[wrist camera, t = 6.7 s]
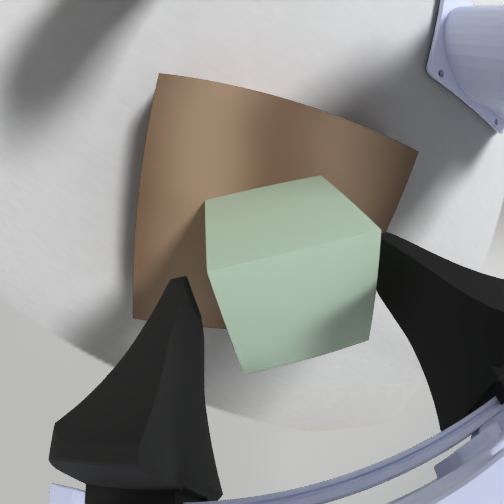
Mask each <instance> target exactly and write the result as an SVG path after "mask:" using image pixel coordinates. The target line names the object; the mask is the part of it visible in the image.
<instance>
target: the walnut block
mask: <svg viewBox="0 0 504 504" xmlns="http://www.w3.org/2000/svg"><path fill="white" fill-rule="evenodd" d="M417 154H418V151H416V150H414V149H412V148H410V147H408V146H406V145H404V144H402V143H400V142H398V141H396V140H394V139H391V138H389V137H387V136H385V135H383V134H380V133H378V132H376V131H373V130H371V129H369V128H366V127H364V126H362V125H359V124H357V123H354V122H352V121H349V120H346V119H344V118H341V117H339V116H336V115H333V114H330V113H328V112H325V111H322V110H319V109H316V108H313V107H310V106H307V105H304V104H301V103H297V102H294V101H291V100H288V99H284V98H281V97H277V96H274V95H270V94H266V93H262V92H258V91H254V90H250V89H246V88H242V87H237V86H233V85H228V84H223V83H219V82H213V81H208V80H202V79H197V78H190V77H184V76H177V75H169V74H161V73H159V76H158V80H157V85H156V89H155V94H154V99H153V103H152V108H151V113H150V119H149V124H148V130H147V136H146V142H145V148H144V155H143V162H142V169H141V177H140V185H139V194H138V204H137V216H136V228H135V244H134V266H133V318H134V319H141V320H148V319H149V317H150V315H151V314H152V312H153V310H154V308H155V307H156V305H157V303H158V301H159V299H160V297H161V296H162V294H163V292H164V290H165V288H166V286H167V285H168V283H169V281H170V280H171V279H174V278H179V277H183V276H187V278H188V281H189V284H190V286H191V289H192V292H193V295H194V297H195V300H196V303H197V306H198V308H199V311H200V314H201V317H202V325H203V327H210V328H222V329H227V327H226V325H225V322H224V319H223V316H222V314H221V311H220V308H219V305H218V302H217V300H216V297H215V294H214V291H213V288H212V285H211V282H210V279H209V276H208V273H207V260H206V228H205V200H209V199H213V198H217V197H221V196H226V195H230V194H234V193H238V192H243V191H247V190H251V189H256V188H260V187H265V186H270V185H274V184H279V183H284V182H289V181H294V180H299V179H304V178H309V177H314V176H320V175H321V176H323V177H324V178H325V179H326V180H327V181H329V182H330V183H331V184H332V185H333V186H334V187H335V188H337V189H338V190H339V191H340V192H341V193H342V194H343V195H345V196H346V197H347V198H348V199H349V200H350V201H351V202H352V203H353V204H355V205H356V206H357V207H358V208H359V209H360V210H361V211H362V212H363V213H364V214H365V215H366V216H368V217H369V218H370V219H371V220H372V221H373V222H374V223H375V224H376V225H377V226H378V227H379V228H380V229H381V233H385V232H386V230H387V228H388V226H389V223H390V221H391V219H392V217H393V214H394V212H395V210H396V208H397V205H398V203H399V200H400V198H401V196H402V193H403V191H404V188H405V186H406V183H407V181H408V178H409V176H410V173H411V171H412V168H413V165H414V163H415V160H416V157H417Z"/></svg>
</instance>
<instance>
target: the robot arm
mask: <svg viewBox="0 0 504 504" xmlns="http://www.w3.org/2000/svg"><path fill="white" fill-rule="evenodd" d="M426 69H427V72H428V74H429V75H430V76H431V77H432V78H434V79H435V80H436V81H438V82H439V83H441V84H442V85H443V86H445V87H446V88H447V89H449V90H450V91H451V92H452V93H454V94H455V95H456V96H457V97H459V98H460V99H461V100H462V101H464V102H465V103H466V104H467V105H468V106H469V107H471V108H472V109H473V110H474V111H475V112H476V113H477V114H479V115H480V116H481V117H482V118H483V119H484V120H485V121H486V122H487V123H488V124H489V125H490V126H492V127H493V128H494V129H495V130H496V131H497V132H498V133H500V134H502V133H503V132H504V5H474V4H473V3H472V2H471V1H470V0H440V6H439V12H438V17H437V22H436V27H435V32H434V37H433V41H432V46H431V50H430V54H429V58H428V62H427V68H426ZM439 72H440V76H439V74H438V73H439ZM376 290H377V292H378V294H379V296H380V297H381V299H382V300H383V302H384V303H385V305H386V306H387V308H388V309H389V311H390V312H391V314H392V315H393V317H394V318H395V320H396V321H397V323H398V324H399V326H400V327H401V329H402V330H403V332H404V333H405V335H406V336H407V338H408V340H409V342H410V343H411V345H412V347H413V349H414V351H415V354H416V356H417V358H418V360H419V362H420V365H421V367H422V369H423V372H424V374H425V377H426V379H427V382H428V385H429V388H430V391H431V394H432V397H433V400H434V404H435V408H436V411H437V416H438V419H439V425H440V429H441V431H442V432H440V433H438V434H437V435H435V436H433V437H431V438H429V439H427V440H425V441H424V442H422V443H420V444H418V445H416V446H414V447H412V448H410V449H408V450H406V451H404V452H401V453H399V454H397V455H395V456H392V457H390V458H388V459H385V460H383V461H381V462H378V463H376V464H373V465H371V466H368V467H366V468H363V469H361V470H358V471H355V472H352V473H349V474H346V475H343V476H340V477H337V478H333V479H330V480H327V481H323V482H320V483H316V484H313V485H309V486H305V487H301V488H297V489H292V490H288V491H283V492H278V493H273V494H267V495H262V496H255V497H248V498H240V499H232V500H223V501H222V500H221V501H218V499H220V497H221V496H222V495H223V493H222V489H221V485H220V481H219V477H218V473H217V469H216V464H215V459H214V454H213V450H212V445H211V439H210V433H209V427H208V421H207V413H206V406H205V395H204V334H203V325H202V317H201V314H200V311H199V308H198V306H197V303H196V300H195V297H194V295H193V292H192V289H191V286H190V284H189V281H188V278H187V276H183V277H179V278H174V279H171V280H170V281H169V283H168V285H167V286H166V288H165V290H164V292H163V294H162V296H161V297H160V299H159V301H158V303H157V305H156V307H155V308H154V310H153V312H152V314H151V315H150V317H149V319H148V321H147V322H146V324H145V326H144V327H143V329H142V330H141V332H140V333H139V335H138V337H137V338H136V340H135V341H134V343H133V344H132V346H131V347H130V348H129V350H128V351H127V352H126V354H125V355H124V356H123V358H122V359H121V360H120V362H119V363H118V364H117V365H116V366H115V368H114V369H113V370H112V371H111V372H110V373H109V374H108V375H107V377H106V378H105V379H104V380H103V381H102V382H101V383H100V384H99V385H98V386H97V388H95V389H94V391H92V393H90V394H89V395H88V396H87V397H86V398H85V399H84V400H83V401H82V402H81V403H80V404H79V405H77V406H76V407H75V408H74V409H73V410H71V411H70V412H69V413H67V414H66V415H65V416H64V417H62V418H61V419H60V420H59V421H57V422H56V423H55V425H54V430H53V436H52V441H51V447H50V454H49V461H50V463H51V464H52V465H53V466H54V467H55V468H56V469H58V470H60V471H61V472H63V473H65V474H67V475H69V476H71V477H73V478H75V479H77V480H79V481H81V482H83V483H85V484H86V491H83V490H80V489H76V488H72V487H67V486H63V485H59V484H54V483H51V484H50V492H49V504H324V503H328V502H331V501H334V500H337V499H341V498H344V497H347V496H350V495H352V494H356V493H358V492H361V491H364V490H366V489H369V488H372V487H374V486H377V485H379V484H382V483H384V482H386V481H389V480H391V479H393V478H395V477H398V476H400V475H402V474H404V473H406V472H408V471H410V470H412V469H414V468H416V467H418V466H420V465H422V464H424V463H426V462H428V461H429V460H431V459H433V458H435V457H437V456H438V455H440V454H442V453H443V452H445V451H447V450H449V449H450V448H452V447H453V446H455V445H456V444H458V443H460V442H461V441H463V440H464V439H466V438H467V437H469V436H470V435H472V436H471V440H470V441H469V442H467V443H466V444H465V445H463V446H461V447H460V448H459V449H457V450H456V451H455V452H454V453H453V454H451V455H450V456H449V457H447V458H446V459H444V460H443V461H442V462H440V463H438V464H437V465H435V467H434V469H435V471H436V474H437V479H435V480H434V481H432V482H430V483H428V484H427V485H424V486H423V487H421V488H419V489H417V490H415V491H413V492H411V493H409V494H407V495H405V496H403V497H401V498H398V499H396V500H394V501H392V502H389V503H387V504H504V279H500V278H496V277H493V276H489V275H486V274H482V273H479V272H476V271H474V270H471V269H468V268H466V267H463V266H460V265H458V264H456V263H453V262H451V261H449V260H447V259H444V258H442V257H440V256H438V255H436V254H434V253H431V252H429V251H427V250H425V249H423V248H421V247H419V246H417V245H415V244H413V243H411V242H409V241H407V240H405V239H402V238H400V237H398V236H396V235H393V234H391V233H388V232H385V233H381V242H380V255H379V267H378V277H377V286H376Z"/></svg>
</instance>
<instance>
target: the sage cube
mask: <svg viewBox="0 0 504 504" xmlns="http://www.w3.org/2000/svg"><path fill="white" fill-rule="evenodd" d="M205 228H206V260H207V273H208V276H209V279H210V282H211V285H212V288H213V291H214V294H215V297H216V300H217V302H218V305H219V308H220V311H221V314H222V316H223V319H224V322H225V325H226V327H227V330H228V333H229V336H230V338H231V341H232V344H233V346H234V349H235V352H236V354H237V357H238V359H239V362H240V365H241V367H242V370H243V372H244V375H245V374H250V373H255V372H259V371H263V370H268V369H272V368H276V367H280V366H284V365H288V364H292V363H296V362H299V361H303V360H307V359H310V358H314V357H317V356H321V355H324V354H327V353H330V352H334V351H337V350H340V349H343V348H346V347H349V346H352V345H355V344H358V343H361V342H364V341H367V340H369V335H370V329H371V322H372V316H373V309H374V302H375V294H376V286H377V277H378V267H379V255H380V242H381V229H380V228H379V227H378V226H377V225H376V224H375V223H374V222H373V221H372V220H371V219H370V218H369V217H368V216H366V215H365V214H364V213H363V212H362V211H361V210H360V209H359V208H358V207H357V206H356V205H355V204H353V203H352V202H351V201H350V200H349V199H348V198H347V197H346V196H345V195H343V194H342V193H341V192H340V191H339V190H338V189H337V188H335V187H334V186H333V185H332V184H331V183H330V182H329V181H327V180H326V179H325V178H324V177H323V176H321V175H320V176H314V177H309V178H304V179H299V180H294V181H289V182H284V183H279V184H274V185H270V186H265V187H260V188H256V189H251V190H247V191H243V192H238V193H234V194H230V195H226V196H221V197H217V198H213V199H209V200H205Z"/></svg>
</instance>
